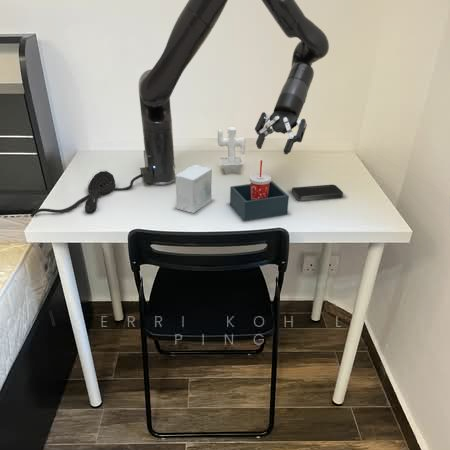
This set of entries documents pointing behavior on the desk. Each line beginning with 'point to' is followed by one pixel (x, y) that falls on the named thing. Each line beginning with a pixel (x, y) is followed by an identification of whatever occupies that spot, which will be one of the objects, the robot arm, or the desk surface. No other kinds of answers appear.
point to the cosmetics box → (193, 188)
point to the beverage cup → (259, 185)
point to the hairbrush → (99, 181)
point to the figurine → (231, 151)
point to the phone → (317, 192)
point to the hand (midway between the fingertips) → (271, 150)
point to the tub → (258, 202)
